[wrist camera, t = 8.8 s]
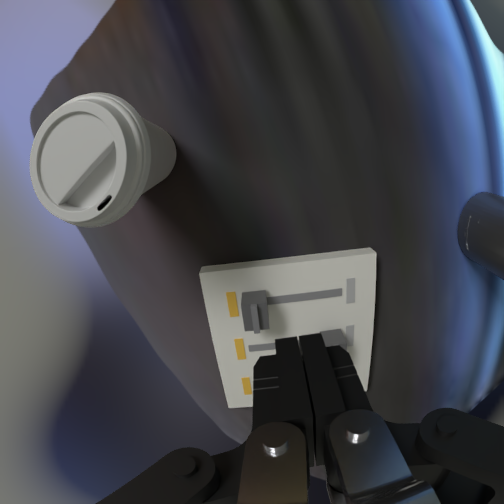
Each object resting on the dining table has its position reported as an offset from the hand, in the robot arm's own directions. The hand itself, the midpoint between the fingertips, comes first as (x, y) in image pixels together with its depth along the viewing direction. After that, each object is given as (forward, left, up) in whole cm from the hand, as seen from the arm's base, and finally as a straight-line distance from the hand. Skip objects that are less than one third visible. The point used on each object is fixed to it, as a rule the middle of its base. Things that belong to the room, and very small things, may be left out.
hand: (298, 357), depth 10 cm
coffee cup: (+12, -8, -24) cm, 28 cm away
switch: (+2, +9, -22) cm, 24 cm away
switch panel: (-2, +15, -24) cm, 28 cm away
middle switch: (-6, +15, -22) cm, 27 cm away
